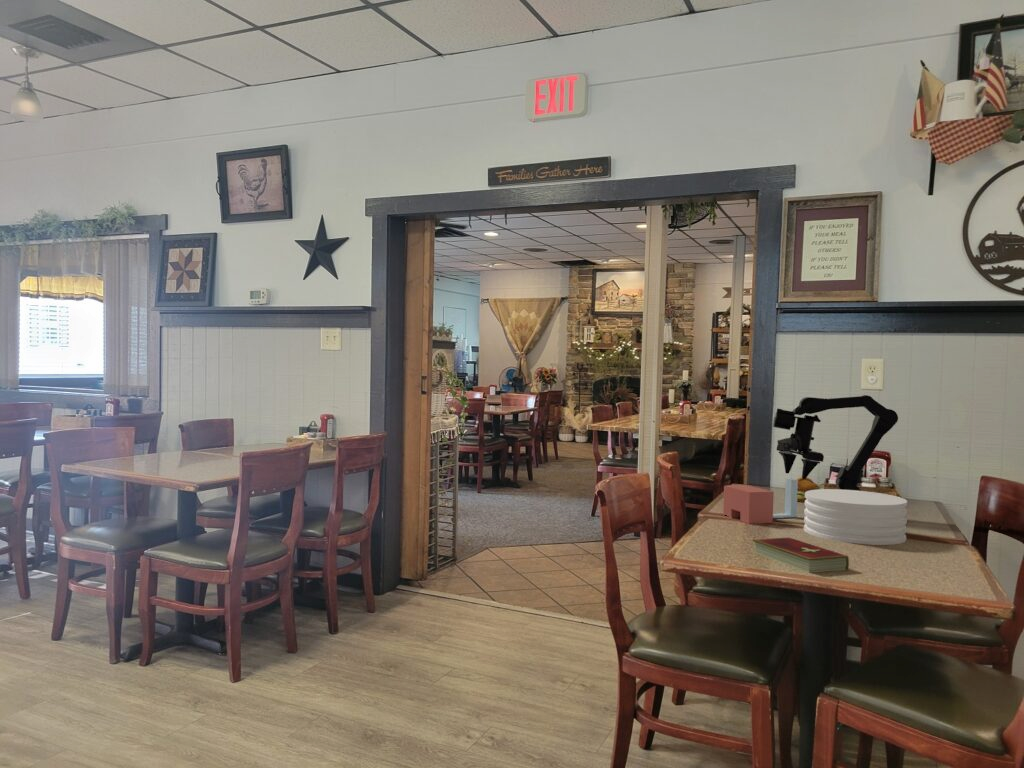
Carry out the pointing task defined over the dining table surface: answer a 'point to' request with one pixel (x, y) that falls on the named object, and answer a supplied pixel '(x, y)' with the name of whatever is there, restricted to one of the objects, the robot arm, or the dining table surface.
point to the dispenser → (748, 503)
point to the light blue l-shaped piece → (789, 499)
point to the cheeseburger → (805, 488)
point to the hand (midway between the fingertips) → (795, 476)
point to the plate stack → (855, 516)
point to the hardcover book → (801, 555)
